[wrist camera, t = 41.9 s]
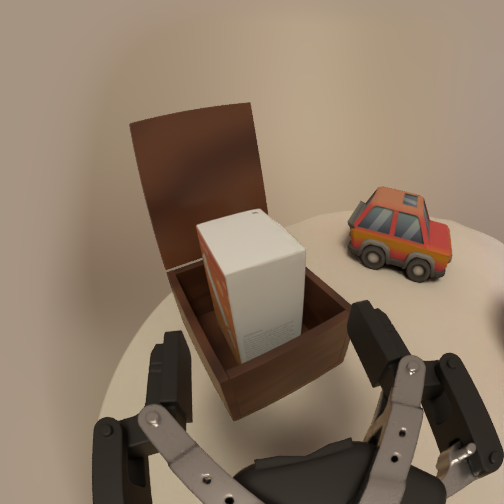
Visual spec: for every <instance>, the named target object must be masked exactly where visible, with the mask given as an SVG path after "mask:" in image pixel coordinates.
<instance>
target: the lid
mask: <svg viewBox="0 0 504 504" xmlns="http://www.w3.org/2000/svg"><path fill="white" fill-rule="evenodd" d="M129 126H130V132H131V137H132V142H133V147H134V152H135V157H136V162H137V166H138V171H139V175H140V180H141V184H142V188H143V192H144V196H145V200H146V204H147V208H148V212H149V216H150V219H151V223H152V226H153V230H154V234H155V237H156V240H157V244H158V247H159V251H160V254H161V257H162V260H163V263H164V267H165V269H166V270H167V269H170V268H173V267H176V266H179V265H182V264H185V263H188V262H191V261H194V260H197V259H199V258H202V253H201V248H200V243H199V239H198V234H197V229H196V225H198V224H201V223H205V222H208V221H211V220H215V219H219V218H222V217H226V216H230V215H233V214H237V213H241V212H245V211H249V210H254V209H261V210H262V211H263V212H264V213H266V214H267V215H268V210H267V203H266V196H265V190H264V183H263V177H262V170H261V165H260V158H259V152H258V145H257V139H256V133H255V127H254V121H253V115H252V109H251V104H250V103H239V104H229V105H221V106H214V107H207V108H200V109H194V110H188V111H183V112H178V113H172V114H168V115H163V116H158V117H154V118H150V119H145V120H141V121H137V122H134V123H130V125H129Z"/></svg>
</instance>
